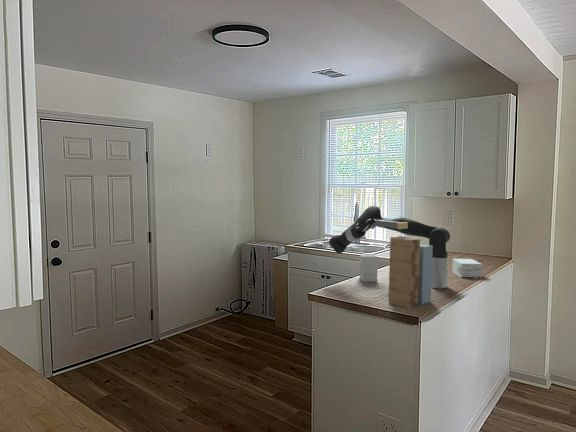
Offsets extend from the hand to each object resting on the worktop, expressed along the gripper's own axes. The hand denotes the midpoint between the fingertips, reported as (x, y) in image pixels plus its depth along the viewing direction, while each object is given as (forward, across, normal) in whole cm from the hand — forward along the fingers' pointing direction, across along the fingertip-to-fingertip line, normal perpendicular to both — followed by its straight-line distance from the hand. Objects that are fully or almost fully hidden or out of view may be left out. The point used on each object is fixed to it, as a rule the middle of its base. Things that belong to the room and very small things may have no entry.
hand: (376, 219), depth 230 cm
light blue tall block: (+2, -3, -46) cm, 46 cm away
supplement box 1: (-37, -18, -24) cm, 48 cm away
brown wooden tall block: (+1, +7, -45) cm, 46 cm away
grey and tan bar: (+3, 0, -5) cm, 6 cm away
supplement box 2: (-15, -80, -37) cm, 90 cm away
